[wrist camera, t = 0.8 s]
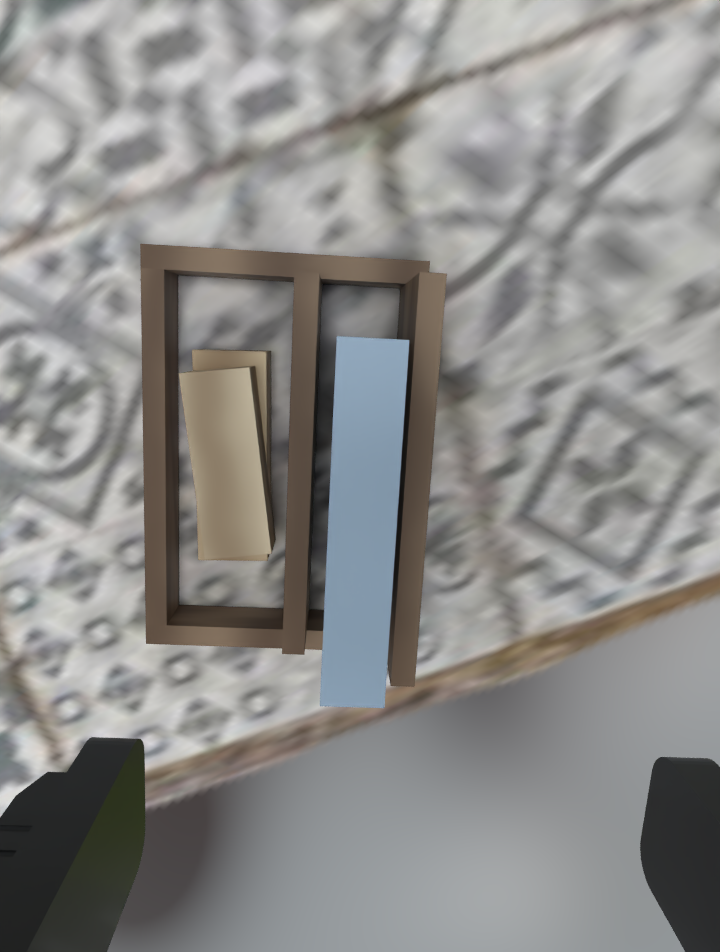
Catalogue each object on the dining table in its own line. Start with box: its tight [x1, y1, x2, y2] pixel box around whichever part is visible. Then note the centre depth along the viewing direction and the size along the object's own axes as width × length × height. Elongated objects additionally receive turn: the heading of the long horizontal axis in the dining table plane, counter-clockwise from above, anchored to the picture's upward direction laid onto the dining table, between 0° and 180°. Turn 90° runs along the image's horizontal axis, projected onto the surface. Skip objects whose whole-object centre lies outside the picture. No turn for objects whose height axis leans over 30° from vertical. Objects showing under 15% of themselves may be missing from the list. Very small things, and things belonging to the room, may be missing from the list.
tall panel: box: [320, 336, 409, 708], centre depth 31 cm, size 2×14×16 cm, turn 177°
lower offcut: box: [192, 349, 272, 561], centre depth 38 cm, size 4×12×3 cm, turn 179°
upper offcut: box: [179, 366, 276, 560], centre depth 35 cm, size 4×10×2 cm, turn 5°
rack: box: [140, 244, 447, 687], centre depth 35 cm, size 15×22×9 cm
